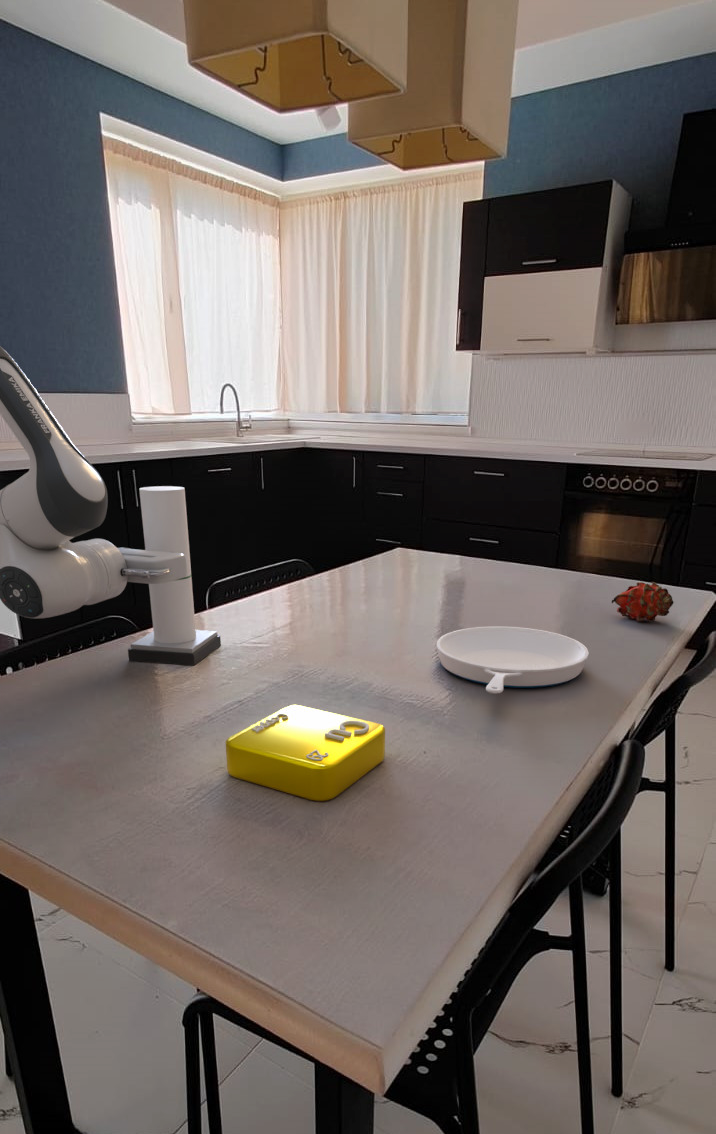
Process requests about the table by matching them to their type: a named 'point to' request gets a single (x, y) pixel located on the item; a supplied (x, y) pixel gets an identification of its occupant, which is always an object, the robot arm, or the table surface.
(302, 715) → the element tile
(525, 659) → the pan
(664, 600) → the dragon fruit
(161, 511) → the cylindrical container
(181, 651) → the scale
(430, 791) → the table surface
